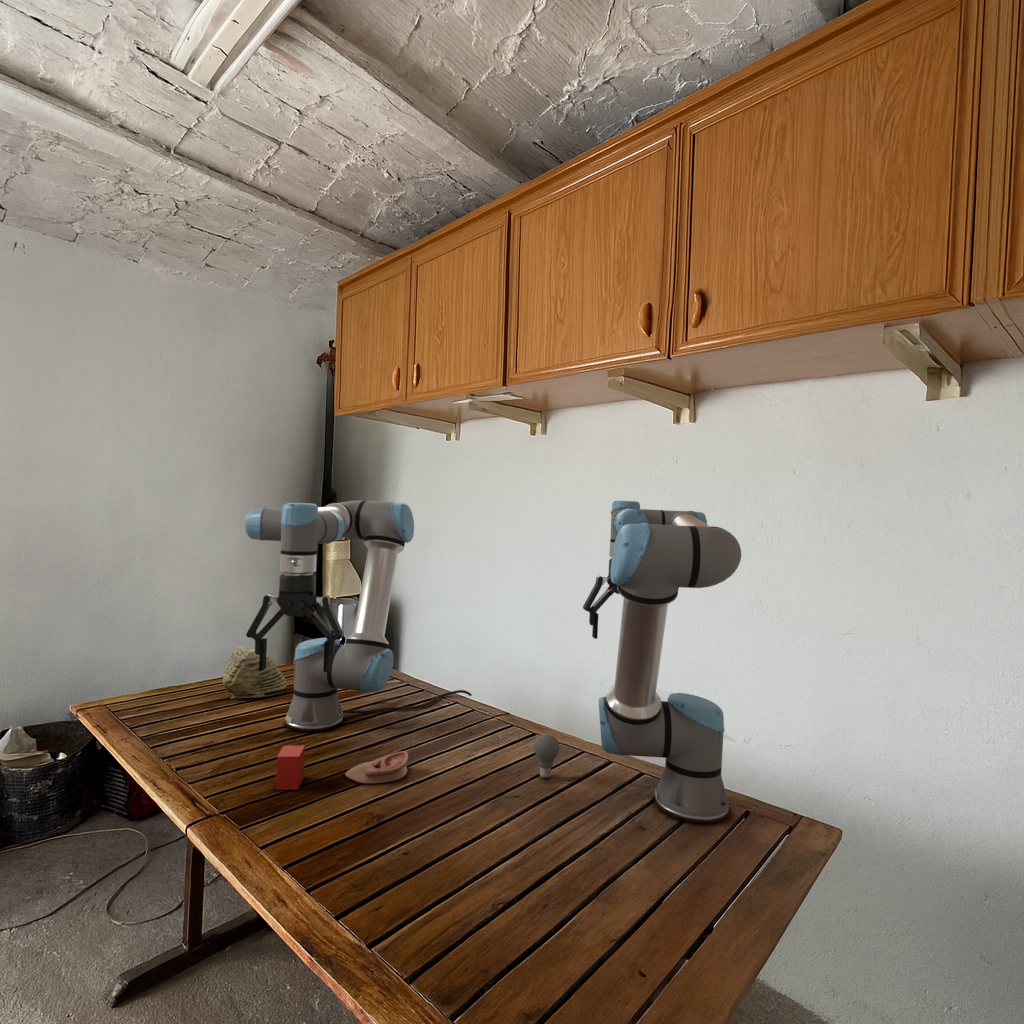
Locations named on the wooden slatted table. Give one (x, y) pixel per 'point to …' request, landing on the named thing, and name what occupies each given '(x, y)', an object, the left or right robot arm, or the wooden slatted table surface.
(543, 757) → the light bulb
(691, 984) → the wooden slatted table surface
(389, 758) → the anatomical model
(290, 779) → the block
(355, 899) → the wooden slatted table surface
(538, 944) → the wooden slatted table surface
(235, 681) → the fossil
